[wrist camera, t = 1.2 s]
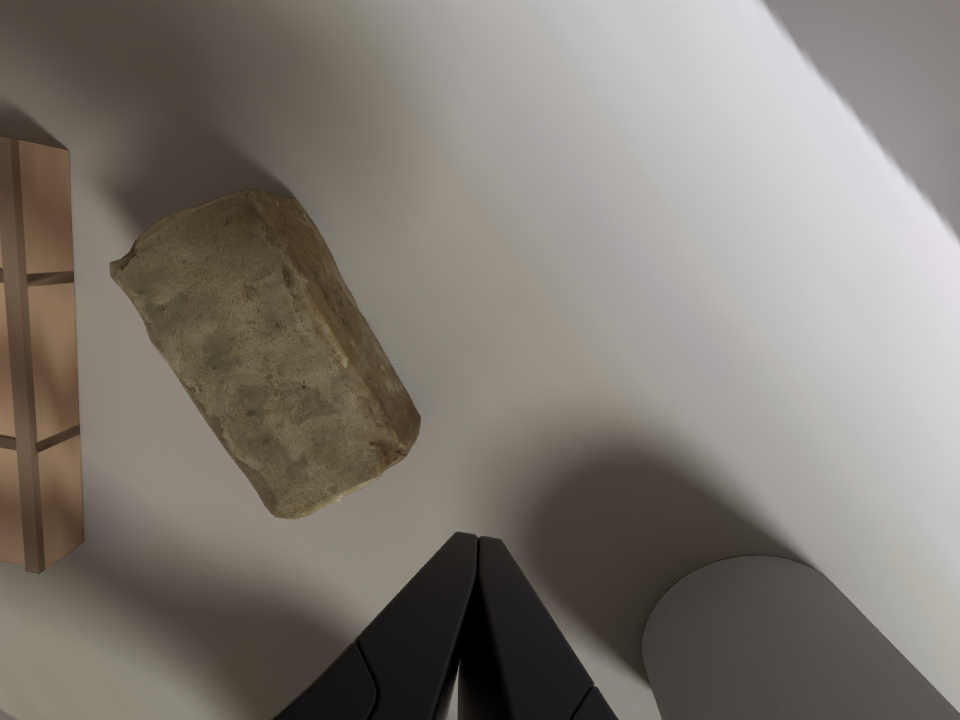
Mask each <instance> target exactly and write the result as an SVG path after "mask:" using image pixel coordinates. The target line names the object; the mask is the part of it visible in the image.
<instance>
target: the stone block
mask: <svg viewBox="0 0 960 720" xmlns="http://www.w3.org/2000/svg"><path fill="white" fill-rule="evenodd" d="M110 276H111V278H112V279H113V280H114V281H115V282H116V283H117V285H118V286H119V287H120V288H121V289H122V290H123V291H124V293H125V294H126V295H127V296H128V297H129V299H130V300H131V301H132V303H133V304H134V306H135V308H136V309H137V311H138V313H139V314H140V316H141V318H142V319H143V321H144V324H145V327H146V330H147V332H148V335H149V338H150V341H151V342H152V343H153V345H154V346H155V347H156V349H157V350H158V351H159V353H160V354H161V355H162V357H163V358H164V359H165V361H166V362H167V363H168V365H169V366H170V367H171V369H172V370H173V371H174V373H175V374H176V376H177V377H178V379H179V381H180V382H181V384H182V385H183V387H184V389H185V390H186V392H187V393H188V395H189V396H190V398H191V399H192V401H193V402H194V404H195V405H196V407H197V408H198V410H199V411H200V413H201V414H202V416H203V417H204V419H205V420H206V422H207V423H208V425H209V426H210V428H211V429H212V431H213V432H214V434H215V435H216V436H217V438H218V439H219V441H220V442H221V444H222V445H223V447H224V448H225V449H226V451H227V452H228V454H229V455H230V456H231V458H232V459H233V460H234V461H235V463H236V464H237V465H238V467H239V468H240V469H241V470H242V472H243V473H244V474H245V475H246V477H247V478H248V479H249V481H250V482H251V484H252V485H253V487H254V488H255V490H256V491H257V493H258V495H259V497H260V498H261V500H262V502H263V504H264V505H265V507H266V508H267V509H268V510H269V511H270V513H271V514H273V515H274V516H275V517H277V518H285V519H298V518H302V517H305V516H308V515H310V514H312V513H314V512H316V511H317V510H319V509H320V508H323V507H326V506H329V505H332V504H335V503H337V502H339V501H340V500H341V499H343V498H344V497H345V496H347V495H349V494H350V493H352V492H354V491H356V490H359V489H362V488H363V487H365V486H367V485H368V484H370V483H372V482H373V481H375V480H377V479H378V478H380V477H381V475H382V474H383V472H384V471H385V470H387V469H388V468H390V467H392V466H393V465H395V464H397V463H399V462H400V461H401V460H403V459H404V458H405V457H406V456H407V454H408V452H409V451H410V449H411V447H412V446H413V444H414V443H415V441H416V439H417V436H418V435H419V429H420V421H421V418H420V415H419V413H418V412H417V410H416V409H415V407H414V404H413V402H412V400H411V398H410V396H409V394H408V393H407V391H406V389H405V388H404V386H403V384H402V383H401V381H400V379H399V378H398V376H397V374H396V372H395V371H394V369H393V367H392V365H391V364H390V362H389V360H388V359H387V357H386V355H385V353H384V351H383V350H382V348H381V346H380V344H379V342H378V340H377V339H376V337H375V335H374V334H373V332H372V330H371V328H370V327H369V325H368V324H367V323H366V321H365V320H364V319H363V317H362V316H361V314H360V312H359V310H358V307H357V304H356V301H355V299H354V298H353V296H352V295H351V293H350V291H349V290H348V288H347V286H346V284H345V282H344V280H343V279H342V277H341V275H340V273H339V270H338V268H337V265H336V263H335V261H334V258H333V256H332V254H331V252H330V250H329V248H328V246H327V245H326V243H325V241H324V239H323V238H322V236H321V234H320V233H319V231H318V229H317V228H316V226H315V225H314V223H313V222H312V220H311V219H310V218H309V216H308V215H307V213H306V212H305V210H304V209H303V208H302V206H301V205H300V204H299V202H298V201H297V200H296V199H295V198H290V197H284V196H280V195H275V194H274V193H270V194H268V193H267V192H265V191H263V190H247V191H242V192H237V193H233V194H229V195H225V196H223V197H220V198H218V199H216V200H213V201H211V202H208V203H206V204H203V205H201V206H198V207H194V208H188V209H184V210H180V211H177V212H174V213H172V214H170V215H168V216H166V217H164V218H162V219H161V220H159V221H157V222H156V223H155V224H154V225H152V226H151V227H150V228H149V229H148V230H146V231H145V232H144V233H143V234H142V235H141V236H140V237H139V238H138V239H137V240H136V241H135V242H134V244H133V246H132V248H131V250H130V252H129V253H127V254H126V255H125V256H124V257H123V258H121V259H119V260H116V261H113V262H110Z"/></svg>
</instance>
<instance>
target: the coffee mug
mask: <svg viewBox="0 0 960 720" xmlns="http://www.w3.org/2000/svg"><path fill="white" fill-rule="evenodd" d="M642 658H643V663H644V667H645V670H646V673H647V676H648V679H649V682H650V685H651V688H652V691H653V694H654V697H655V700H656V703H657V706H658V709H659V712H660V714H661V717H662V720H960V713H959V712H958V711H957V710H956V709H955V708H954V707H953V706H952V705H951V704H950V703H949V702H948V701H947V700H946V699H945V698H944V697H943V696H942V695H941V694H940V693H939V692H938V691H937V690H936V689H935V687H934V686H933V685H932V684H931V683H930V682H929V681H928V680H927V679H926V678H925V677H924V676H923V675H922V674H921V673H920V672H919V671H918V670H917V669H916V668H915V667H914V666H913V665H912V664H911V663H910V662H909V661H908V660H907V659H906V658H905V657H904V656H903V655H902V654H901V653H900V652H899V651H898V650H897V649H896V647H895V646H894V645H893V644H892V643H891V642H890V641H889V640H888V639H887V638H886V637H885V636H884V635H883V634H882V633H881V632H880V631H879V630H878V629H877V628H876V627H875V626H874V625H873V624H872V623H871V622H870V621H869V620H868V619H867V618H866V617H865V616H864V615H863V614H862V613H861V612H860V611H859V610H858V609H857V607H856V606H855V605H854V604H853V603H852V602H851V601H850V600H849V599H848V598H847V597H846V596H845V595H844V594H843V593H842V592H841V591H840V590H839V589H838V588H837V587H836V586H835V585H834V584H833V583H832V582H831V581H830V580H829V579H827V578H826V577H825V576H824V575H822V574H821V573H819V572H818V571H816V570H814V569H812V568H810V567H808V566H806V565H804V564H802V563H799V562H796V561H793V560H790V559H786V558H781V557H776V556H766V555H754V556H738V557H734V558H729V559H725V560H720V561H717V562H713V563H711V564H708V565H705V566H703V567H701V568H699V569H697V570H696V571H694V572H692V573H690V574H688V575H687V576H685V577H684V578H682V579H681V580H679V581H678V582H677V583H676V584H674V585H673V586H672V587H671V588H670V589H669V590H668V591H667V592H666V593H665V594H664V595H663V596H662V597H661V599H660V600H659V601H658V602H657V604H656V605H655V607H654V608H653V610H652V612H651V614H650V616H649V618H648V620H647V622H646V626H645V630H644V633H643V639H642Z"/></svg>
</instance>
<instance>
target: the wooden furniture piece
mask: <svg viewBox="0 0 960 720" xmlns="http://www.w3.org/2000/svg"><path fill="white" fill-rule="evenodd" d="M83 542H84V531H83V505H82V479H81V453H80V427H79V402H78V376H77V350H76V324H75V298H74V272H73V246H72V220H71V194H70V168H69V150H64V149H59V148H55V147H50V146H45V145H41V144H36V143H31V142H27V141H22V140H17V139H13V138H8V137H2V136H0V561H3V562H8V563H14V564H19V565H25V569H26V572H32V573H37V574H40V573H41V572H42V571H44V570H45V569H47V568H48V567H49V566H51V565H52V564H54V563H55V562H56V561H58V560H59V559H61V558H62V557H63V556H65V555H66V554H68V553H69V552H70V551H72V550H73V549H75V548H76V547H77V546H79V545H80V544H82V543H83Z"/></svg>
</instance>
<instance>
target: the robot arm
mask: <svg viewBox="0 0 960 720" xmlns="http://www.w3.org/2000/svg"><path fill="white" fill-rule="evenodd" d="M459 662H460V663H459ZM458 667H459V675H458V720H618V718H617V717H616V715H615V714H614V712H613V711H612V709H611V708H610V706H609V705H608V703H607V702H606V700H605V699H604V697H603V695H602V694H601V692H600V691H599V689H598V688H597V687H596V686H594V682H593V680H592V679H591V677H590V676H589V674H588V673H587V671H586V670H585V668H584V666H583V665H582V663H581V662H580V660H579V659H578V657H577V656H576V654H575V653H574V651H573V649H572V648H571V646H570V645H569V643H568V642H567V640H566V639H565V637H564V636H563V634H562V632H561V631H560V629H559V628H558V626H557V625H556V623H555V622H554V620H553V619H552V617H551V615H550V614H549V612H548V611H547V609H546V608H545V606H544V605H543V603H542V602H541V600H540V598H539V597H538V595H537V594H536V592H535V591H534V589H533V588H532V586H531V584H530V583H529V581H528V580H527V578H526V577H525V575H524V574H523V572H522V571H521V569H520V567H519V566H518V564H517V563H516V561H515V560H514V558H513V557H512V555H511V554H510V552H509V550H508V549H507V547H506V546H505V544H504V543H503V541H502V540H500V539H498V538H492V537H486V536H480V537H479V538H478V537H477V536H476V535H475V534H470V533H464V532H455V533H454V534H453V535H452V536H451V537H450V538H449V540H448V541H447V542H446V543H445V544H444V545H443V546H442V547H441V548H440V549H439V550H438V551H437V552H436V553H435V554H434V556H433V557H432V558H431V559H430V560H429V561H428V562H427V563H426V564H425V565H424V566H423V567H422V568H421V569H420V571H419V572H418V573H417V574H416V575H415V576H414V577H413V578H412V579H411V580H410V581H409V582H408V583H407V584H406V585H405V587H404V588H403V589H402V590H401V591H400V592H399V593H398V594H397V595H396V596H395V597H394V598H393V599H392V600H391V601H390V603H389V604H388V605H387V606H386V607H385V608H384V609H383V610H382V611H381V612H380V613H379V614H378V615H377V616H376V618H375V619H374V620H373V621H372V622H371V623H370V624H369V625H368V626H367V627H366V628H365V629H364V630H363V631H362V632H361V634H360V635H359V636H358V637H357V638H356V639H355V641H354V643H351V644H350V645H349V646H348V647H347V648H346V649H345V650H344V651H343V652H342V654H341V655H340V656H339V657H338V658H337V659H336V660H335V661H334V662H333V663H332V664H331V665H330V666H329V667H328V668H327V669H326V670H325V671H324V672H323V673H322V674H321V675H320V676H319V677H318V678H317V679H316V680H315V681H314V682H313V683H312V684H311V685H310V686H309V687H308V688H307V689H306V690H304V691H303V692H302V693H301V694H300V695H299V696H298V697H296V698H295V699H294V700H293V701H292V702H291V703H290V704H289V705H287V706H286V707H285V708H284V709H283V710H282V711H281V712H279V713H278V714H277V715H276V716H275V717H274V718H272V719H271V720H446V718H447V714H448V710H449V706H450V702H451V698H452V694H453V690H454V685H455V681H456V676H457V671H458Z"/></svg>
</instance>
